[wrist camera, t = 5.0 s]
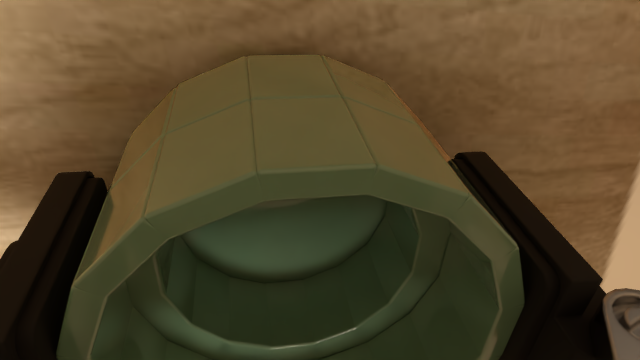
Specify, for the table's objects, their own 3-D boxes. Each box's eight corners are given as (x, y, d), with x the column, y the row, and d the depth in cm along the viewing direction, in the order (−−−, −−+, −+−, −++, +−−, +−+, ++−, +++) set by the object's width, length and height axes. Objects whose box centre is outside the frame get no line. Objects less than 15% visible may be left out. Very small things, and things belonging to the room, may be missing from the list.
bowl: (450, 44, 9) (596, 153, 6) (401, 281, 13) (467, 436, 10) (87, 46, 8) (-29, 186, 4) (152, 306, 12) (119, 492, 8)
